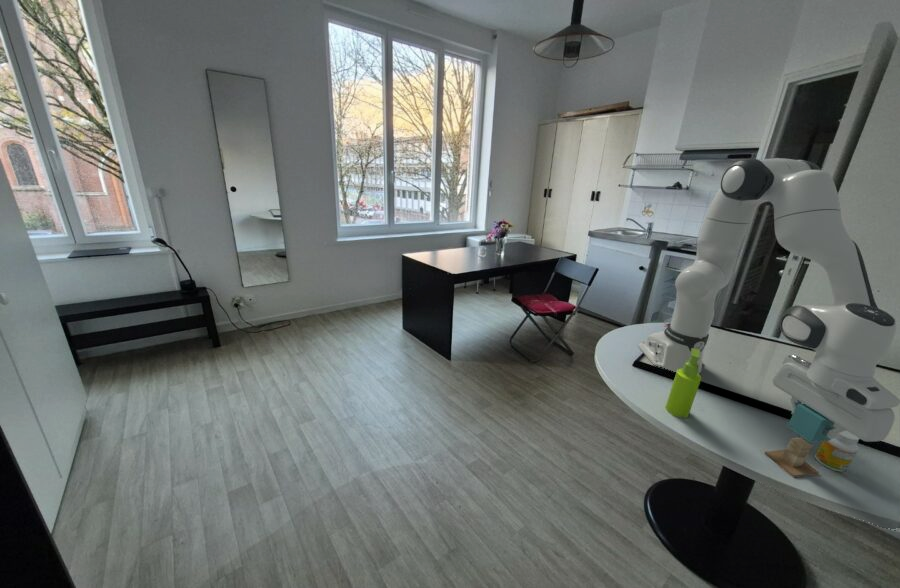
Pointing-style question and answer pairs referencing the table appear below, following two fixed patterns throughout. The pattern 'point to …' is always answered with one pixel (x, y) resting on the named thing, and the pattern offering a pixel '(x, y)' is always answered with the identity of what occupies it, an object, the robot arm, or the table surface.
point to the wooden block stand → (794, 458)
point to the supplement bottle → (838, 451)
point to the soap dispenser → (684, 387)
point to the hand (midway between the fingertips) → (811, 425)
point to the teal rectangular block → (809, 423)
